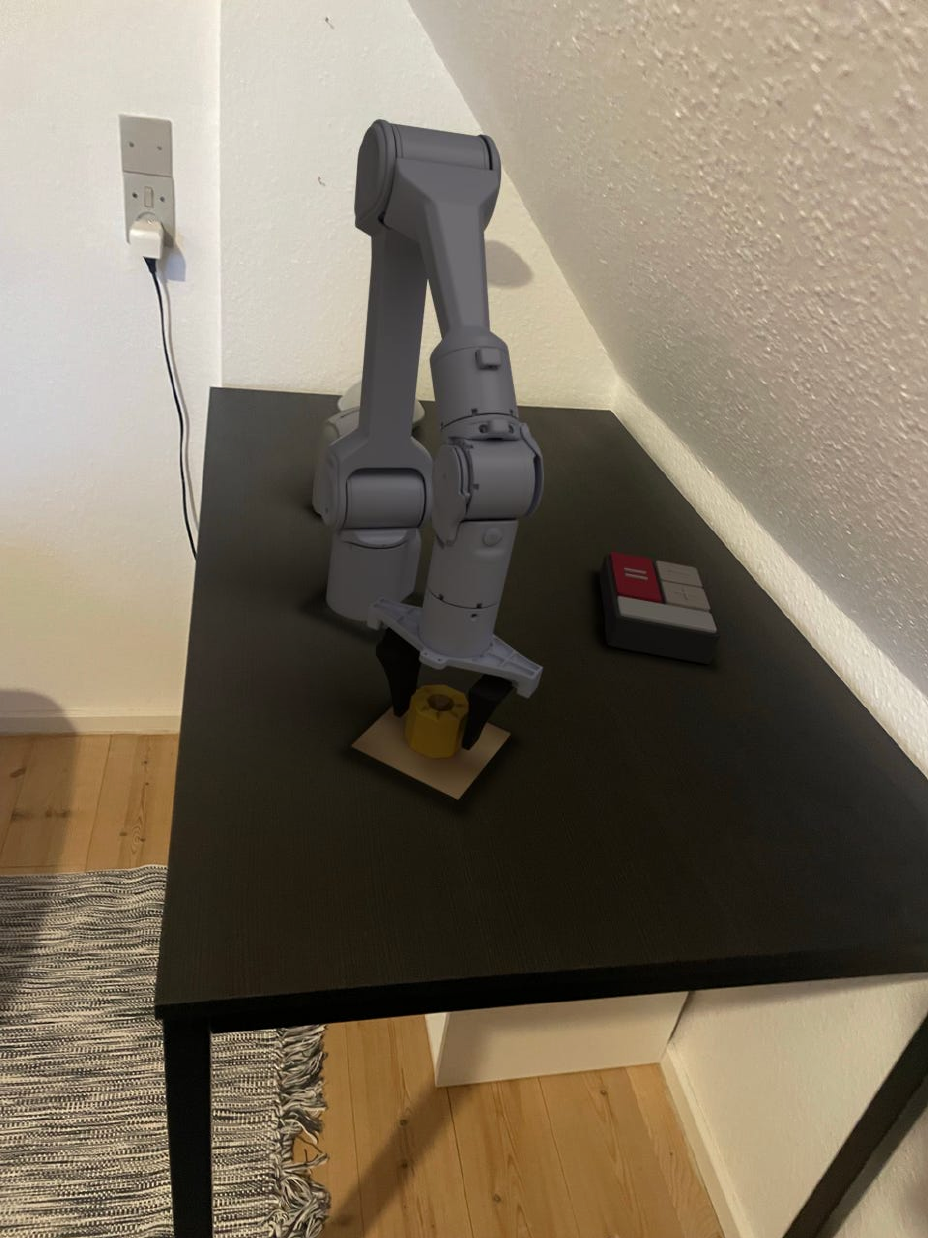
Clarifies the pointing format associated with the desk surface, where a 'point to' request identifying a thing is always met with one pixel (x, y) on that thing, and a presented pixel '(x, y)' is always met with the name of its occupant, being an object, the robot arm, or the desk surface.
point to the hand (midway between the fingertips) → (436, 726)
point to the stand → (439, 773)
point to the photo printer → (327, 435)
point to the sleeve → (436, 722)
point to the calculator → (657, 608)
